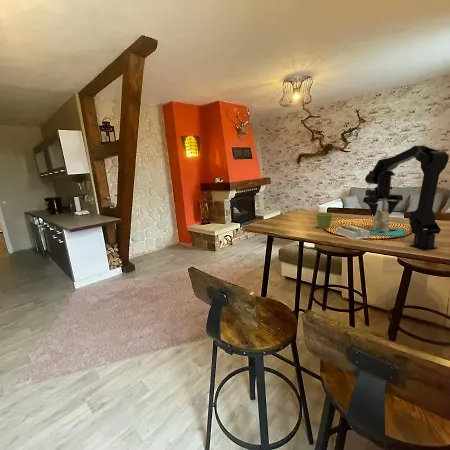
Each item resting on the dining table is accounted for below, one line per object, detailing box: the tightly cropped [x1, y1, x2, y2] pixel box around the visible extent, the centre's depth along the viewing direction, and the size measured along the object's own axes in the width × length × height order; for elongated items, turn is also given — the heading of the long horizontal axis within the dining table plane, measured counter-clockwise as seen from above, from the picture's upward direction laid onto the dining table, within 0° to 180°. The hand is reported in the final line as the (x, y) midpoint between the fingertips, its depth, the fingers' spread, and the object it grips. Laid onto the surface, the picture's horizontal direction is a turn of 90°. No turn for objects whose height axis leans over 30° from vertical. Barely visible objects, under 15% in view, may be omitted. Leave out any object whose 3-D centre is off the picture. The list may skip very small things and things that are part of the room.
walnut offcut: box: [340, 225, 351, 231], centre depth 131 cm, size 6×1×4 cm, turn 11°
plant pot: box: [315, 212, 334, 229], centre depth 148 cm, size 9×9×9 cm
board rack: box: [334, 224, 371, 240], centre depth 130 cm, size 14×10×4 cm
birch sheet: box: [372, 209, 390, 232], centre depth 132 cm, size 9×1×10 cm, turn 12°
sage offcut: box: [350, 226, 360, 237], centre depth 128 cm, size 6×1×4 cm, turn 11°
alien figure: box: [361, 227, 407, 238], centre depth 133 cm, size 20×2×20 cm
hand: (381, 215), depth 131 cm, fingers open, 9 cm apart
